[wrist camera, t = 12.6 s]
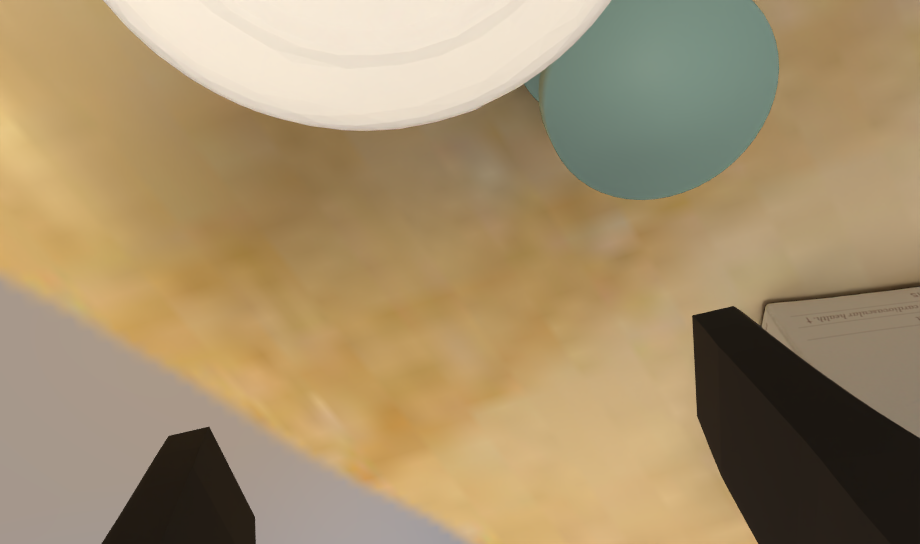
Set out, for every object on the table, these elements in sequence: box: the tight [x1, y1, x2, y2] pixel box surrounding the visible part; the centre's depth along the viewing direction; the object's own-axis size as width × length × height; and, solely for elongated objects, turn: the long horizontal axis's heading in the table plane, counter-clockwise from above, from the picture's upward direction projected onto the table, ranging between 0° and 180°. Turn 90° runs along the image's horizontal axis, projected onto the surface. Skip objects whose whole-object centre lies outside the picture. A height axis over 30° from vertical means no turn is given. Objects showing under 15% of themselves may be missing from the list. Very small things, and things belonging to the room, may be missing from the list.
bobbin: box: [524, 0, 779, 200], centre depth 19 cm, size 5×5×4 cm
